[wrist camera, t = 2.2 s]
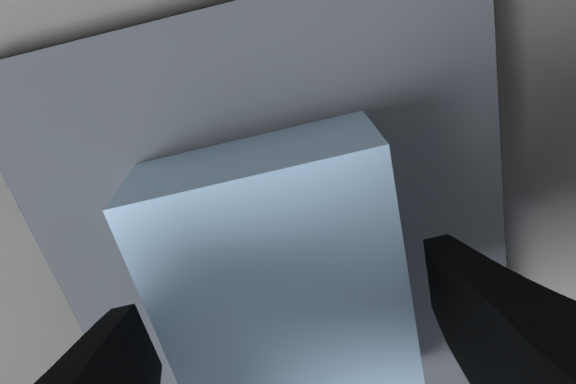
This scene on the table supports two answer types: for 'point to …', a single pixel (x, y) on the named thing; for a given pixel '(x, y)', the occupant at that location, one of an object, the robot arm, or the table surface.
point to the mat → (258, 125)
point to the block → (274, 258)
